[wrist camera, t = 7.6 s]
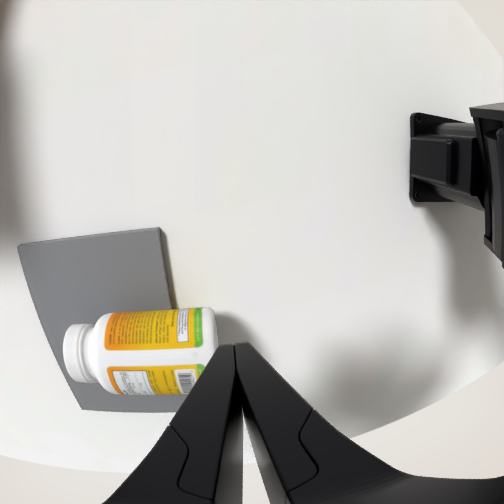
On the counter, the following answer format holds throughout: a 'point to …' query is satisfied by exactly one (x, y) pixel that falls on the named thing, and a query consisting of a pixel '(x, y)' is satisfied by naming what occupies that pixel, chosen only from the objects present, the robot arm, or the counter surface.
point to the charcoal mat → (98, 298)
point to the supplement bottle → (142, 350)
